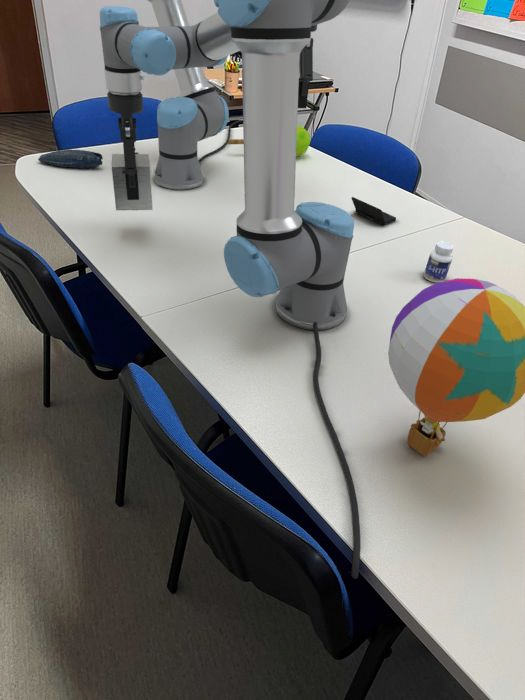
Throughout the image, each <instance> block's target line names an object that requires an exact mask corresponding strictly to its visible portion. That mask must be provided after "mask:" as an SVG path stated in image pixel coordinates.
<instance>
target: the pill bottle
mask: <svg viewBox="0 0 525 700" xmlns="http://www.w3.org/2000/svg"><path fill="white" fill-rule="evenodd" d="M453 250H454V245H453V244H452V243H450V242H447V241H443V240H441V241H437V242H436V243H435V247H434V249H433V250H431V252H430V253H429V256H428V259H427V263H426V266H425V268H424V272H423V277H424V279H426V280H428V281H429V282H432V283H436V284H437V283H440V282H444V281H446V279H447V275H448V273H449V270H450V268H451V264H452V262H453Z"/></svg>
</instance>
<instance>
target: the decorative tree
mask: <svg viewBox="0 0 525 700" xmlns="http://www.w3.org/2000/svg"><path fill="white" fill-rule="evenodd" d="M227 145H244V138H241V139H239V138H237V139H236V138H235V139H233V138H229V139H228V143H227ZM310 145H311V136H310V133H309V132H308V131H307V130H306V129H305V128H304V127H303V126H302V125H297V142H296V157H300V156H302V155H305V154H306V153H307V151H308V148H309V147H310Z"/></svg>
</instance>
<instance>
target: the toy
mask: <svg viewBox="0 0 525 700" xmlns="http://www.w3.org/2000/svg"><path fill="white" fill-rule="evenodd" d="M387 355H388V365H389V367H390V369H391V372H392V375H393V377H394V379H395V381H396V383H397V385H398V388H399V389H400V391H401V392H402V393H403V394H404V396H405V397H406V398H407V399H408V400H409V401H410V403H412V405H413V406H415V407H416V408H417V409H418V410H419V411H418V418H417V420H416V423H411V424H410V429H409V431H408V434H407V439H406V443H407V445H408V446H409V447H410V448H412V449H413V450H414V451H416V452H417V453H418V454H420V455H421V456H422V457H424V458H426V457H428V456H429V455H430V454H431V453H433V452H434V451H435V450H437V449H438V448H439V447H440V446H441V444H442V443H443V442H445V441H446V434H447V432H446V430H445V427H446V425H447V424H448V423H461V422H472V421H479V420H486V419H488V418H489V417H492V416H494V415H496V414H498V413H501V412H503V411H505V410H508V409H509V408H511V407H513V406H514V405H515V404H516V403H518V402H519V401H520V400H521V399H522V397H523V396H524V395H525V305H524V304H523V303H522V301H521V300H520V299H519V298H518V297H517V296H516V295H515V294H513V293H511V292H510V291H508V290H507V289H505V288H503V287H502V286H500V285H498V284H495V283H492V282H491V281H487V280H482V279H477V278H452V279H448V280H444V281H443V282H439V283H437V282H436V283H435V284H431V285H429V286H428V287H426V288H423V289H421V291H420V292H419V293H417V294H416V295H415V296H414V297H413V298H411V300H409V302H407V303H406V304H405V305H404V306H403V307H402V309H401V310H400V311H399V313H398V314H397V315H396V317H395V319H394V321H393V324H392V326H391V333H390V337H389V344H388V351H387ZM421 414H423V418H422V419H420V418H421ZM440 423H444V425H443V426H442V427H441V424H440Z"/></svg>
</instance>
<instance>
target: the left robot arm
mask: <svg viewBox="0 0 525 700" xmlns="http://www.w3.org/2000/svg"><path fill="white" fill-rule="evenodd" d="M147 1H148V2H149V3H150V4H151V6H152V10H153V12H154V15H155V18H156V21H157V25H158V27H173V26H190V23H189V19H188V16H187V13H186V11H185V7H184V4H183V1H182V0H147ZM317 29H318V24H317V25H315V26H313V27H311V33H313V32H316V31H317ZM313 49H314V38H313V37H311V40H310V41H309V42H308V43H307V45H306V46H305V47H304V48H303V49H302V50H301V52H300V59H299V86H298V109H307V104H308V96H309V88H310V83H311V82H313V80H314V78H313V77H314V64H313V63H314V60H313V59H314V56H313V55H314V54H313V53H314V51H313ZM173 71H174V74H175V77H176V80H177V83H178V86H179V89H180V93H179V95H178V96H176V97H169V98H165V99H163V100H162V101H160V102H159V104H158V106H157V109H156V110H157V111H156V112H157V114H156V122H157V124H156V125H157V136H158V137H157V138H158V159H157V163H156V166H153V175H154V177H153V178H154V182H155V184H156V185H158V186H160V187H162V188H165V189H169V190H175V191H176V190H179V191H181V190H182V191H184V190H192V189H196V188H198V187H200V186H202V185H203V183H204V173H203V169H202V167H201V164H200V163H201V162H202V161H203V160H204V159H205V158H208V157H209V156H211V155H214V154H216V153H218V152H219V151H221V150H223V148H225V147H226V146H227V145H228V139H231V131H232V130H231V129H232V127H234V126H235V125H236V124H238V123H240V124H242V125H243V120H241V119H239V120H235V121H234V122H232V123H231V124H230V125H229V126H228V131H227V139H226V141H225V142H224V143H223V145H221V146H220V147H218V148H216V149H215V150H213V151H210V152H208V153H206V154H204V155H203V156H202V157H200V158H199V157H198V143H199V142H200V141H203V140H206V139H208V138H211V137H215V136H217V135H218V134H220V133H222V132H223V131H224V130H225V128H226V127H227V124H228V122H229V117H230V116H229V115H230V112H229V107H228V104H227V102H226V101H225V99H224V98H223V97H221V96H220V95H219V94H217V92H216V89H215V86H214V84H211V83H210V82H209V81H208V79H207V77H206V73H205V71H204V67H194V68H183V69H173Z"/></svg>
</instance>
